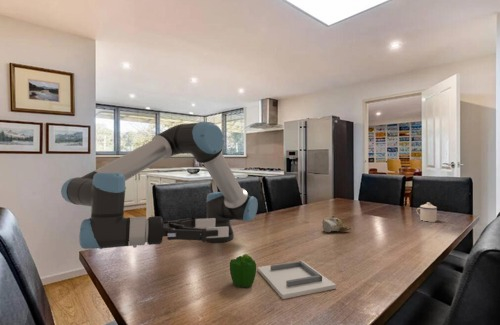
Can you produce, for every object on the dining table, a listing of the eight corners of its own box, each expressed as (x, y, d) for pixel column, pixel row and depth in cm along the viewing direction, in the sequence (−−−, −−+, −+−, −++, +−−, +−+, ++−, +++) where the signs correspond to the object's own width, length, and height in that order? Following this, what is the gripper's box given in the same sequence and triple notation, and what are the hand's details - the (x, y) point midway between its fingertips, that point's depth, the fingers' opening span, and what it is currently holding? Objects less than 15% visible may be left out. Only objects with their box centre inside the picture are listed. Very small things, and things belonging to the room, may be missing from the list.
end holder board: (257, 270, 93) (257, 263, 93) (302, 263, 99) (302, 256, 99) (282, 299, 74) (282, 289, 74) (335, 288, 80) (335, 279, 80)
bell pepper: (226, 280, 85) (226, 250, 85) (250, 276, 88) (250, 247, 88) (234, 293, 77) (234, 259, 77) (260, 288, 80) (259, 255, 80)
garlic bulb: (317, 214, 145) (338, 213, 150) (316, 230, 145) (337, 228, 150) (329, 218, 135) (352, 217, 141) (328, 235, 135) (351, 234, 141)
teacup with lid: (440, 221, 163) (440, 203, 163) (431, 223, 160) (431, 204, 160) (421, 217, 174) (421, 200, 174) (412, 219, 171) (412, 201, 171)
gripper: (145, 234, 83) (210, 230, 92) (148, 258, 60) (234, 250, 69) (146, 210, 83) (211, 208, 92) (149, 225, 61) (235, 221, 69)
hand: (221, 226), depth 80 cm, fingers open, 13 cm apart
